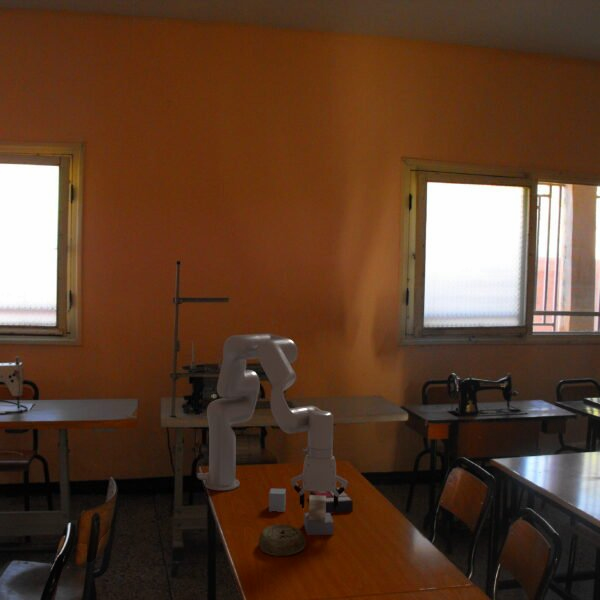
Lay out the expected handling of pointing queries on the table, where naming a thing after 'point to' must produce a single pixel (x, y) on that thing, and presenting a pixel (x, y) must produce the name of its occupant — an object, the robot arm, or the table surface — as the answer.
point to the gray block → (277, 500)
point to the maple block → (317, 508)
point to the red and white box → (343, 501)
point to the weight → (281, 540)
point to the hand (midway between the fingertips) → (318, 507)
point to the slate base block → (319, 525)
